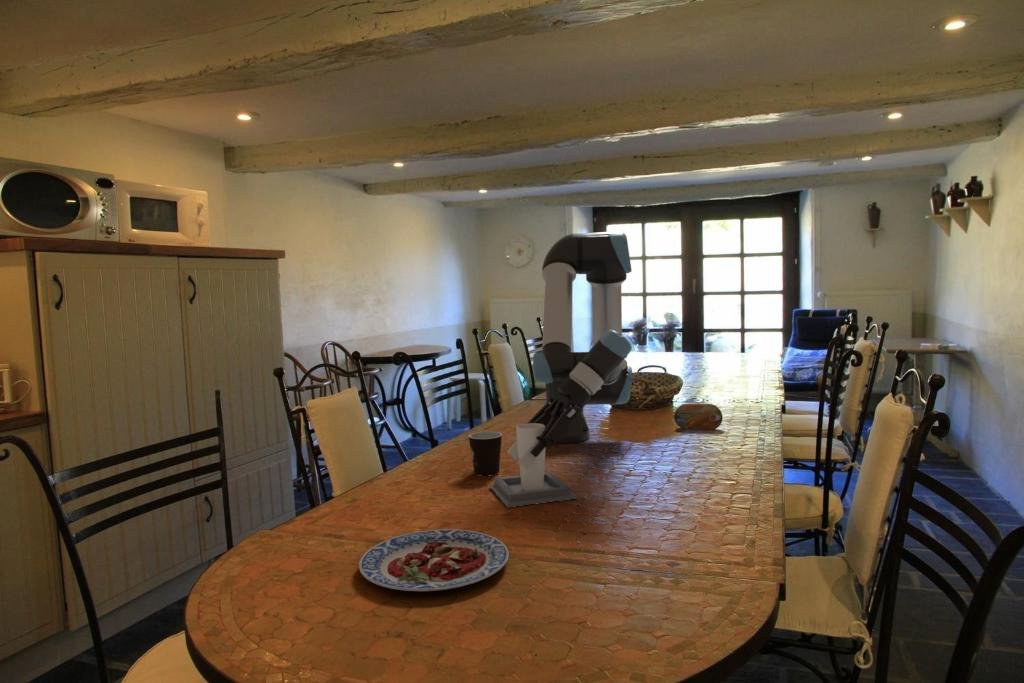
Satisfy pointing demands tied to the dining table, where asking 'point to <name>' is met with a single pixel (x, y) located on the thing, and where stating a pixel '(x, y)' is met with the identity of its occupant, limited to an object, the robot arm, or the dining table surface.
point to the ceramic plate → (433, 560)
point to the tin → (698, 416)
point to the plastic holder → (515, 496)
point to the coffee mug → (485, 452)
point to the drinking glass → (535, 471)
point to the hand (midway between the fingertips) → (516, 460)
